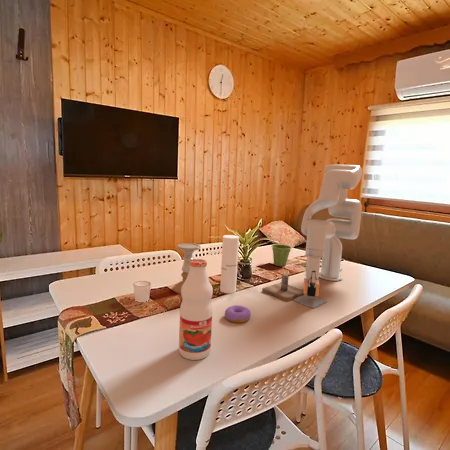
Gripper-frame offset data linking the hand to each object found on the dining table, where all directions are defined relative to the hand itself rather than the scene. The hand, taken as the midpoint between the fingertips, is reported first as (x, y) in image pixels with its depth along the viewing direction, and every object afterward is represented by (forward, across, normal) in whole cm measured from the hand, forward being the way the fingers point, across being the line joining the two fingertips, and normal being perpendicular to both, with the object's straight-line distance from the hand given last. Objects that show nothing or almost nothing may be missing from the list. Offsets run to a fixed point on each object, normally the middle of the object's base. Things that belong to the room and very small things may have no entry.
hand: (310, 292), depth 136 cm
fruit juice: (+5, +51, -36) cm, 62 cm away
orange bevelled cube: (0, 0, 0) cm, 0 cm away
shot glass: (+5, +21, -67) cm, 71 cm away
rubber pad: (+4, 0, 0) cm, 4 cm away
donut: (+5, +25, -27) cm, 37 cm away
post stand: (+4, -7, -11) cm, 14 cm away
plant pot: (+4, -52, -15) cm, 54 cm away
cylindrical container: (+4, -1, -36) cm, 36 cm away
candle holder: (+4, +4, -54) cm, 54 cm away
